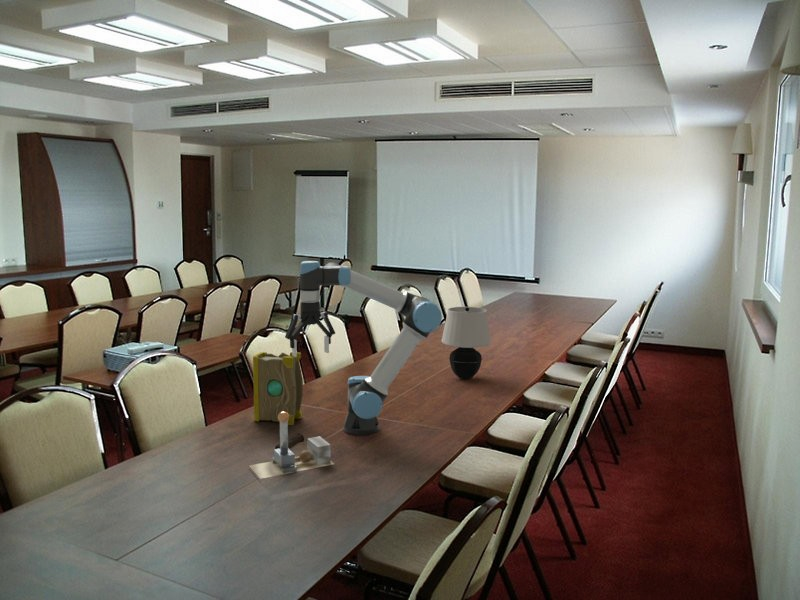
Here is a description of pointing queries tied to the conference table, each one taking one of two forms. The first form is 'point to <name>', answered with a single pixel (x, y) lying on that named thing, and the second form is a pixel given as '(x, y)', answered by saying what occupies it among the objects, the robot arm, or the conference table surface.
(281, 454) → the ball-top joystick
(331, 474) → the conference table surface
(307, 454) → the brown ball
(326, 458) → the knob lever base plate
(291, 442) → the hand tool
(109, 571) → the conference table surface
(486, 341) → the table lamp
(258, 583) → the conference table surface
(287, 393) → the decorative book
